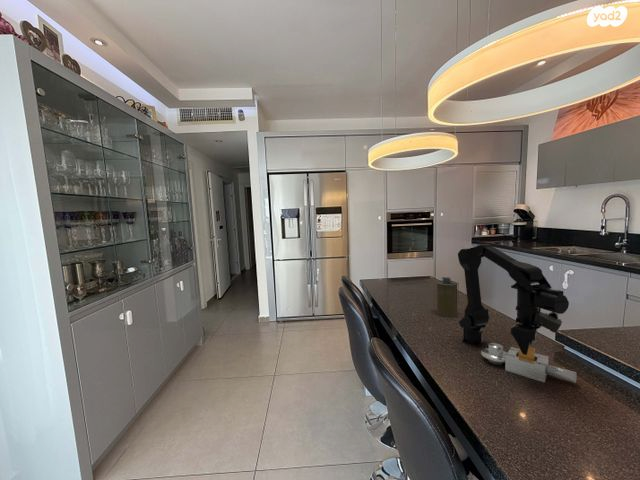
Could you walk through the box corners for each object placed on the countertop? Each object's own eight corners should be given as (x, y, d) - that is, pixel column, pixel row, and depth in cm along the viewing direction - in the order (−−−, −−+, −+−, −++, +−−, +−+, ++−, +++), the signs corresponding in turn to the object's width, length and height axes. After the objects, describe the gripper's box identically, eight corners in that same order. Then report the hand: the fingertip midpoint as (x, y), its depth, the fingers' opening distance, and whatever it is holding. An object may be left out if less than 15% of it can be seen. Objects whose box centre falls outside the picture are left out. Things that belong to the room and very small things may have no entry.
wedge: (518, 370, 92) (518, 347, 91) (519, 367, 93) (520, 344, 93) (533, 374, 89) (533, 351, 88) (534, 371, 91) (534, 348, 90)
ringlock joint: (478, 362, 98) (478, 346, 97) (485, 352, 104) (485, 337, 103) (575, 392, 79) (575, 372, 79) (576, 378, 86) (577, 360, 85)
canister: (435, 315, 146) (434, 278, 144) (438, 309, 154) (438, 275, 153) (457, 318, 140) (457, 280, 138) (459, 312, 148) (459, 276, 147)
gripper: (557, 317, 77) (556, 369, 78) (562, 301, 90) (561, 346, 91) (510, 309, 85) (510, 356, 86) (521, 296, 98) (520, 337, 99)
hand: (527, 349), depth 90 cm, fingers open, 9 cm apart
